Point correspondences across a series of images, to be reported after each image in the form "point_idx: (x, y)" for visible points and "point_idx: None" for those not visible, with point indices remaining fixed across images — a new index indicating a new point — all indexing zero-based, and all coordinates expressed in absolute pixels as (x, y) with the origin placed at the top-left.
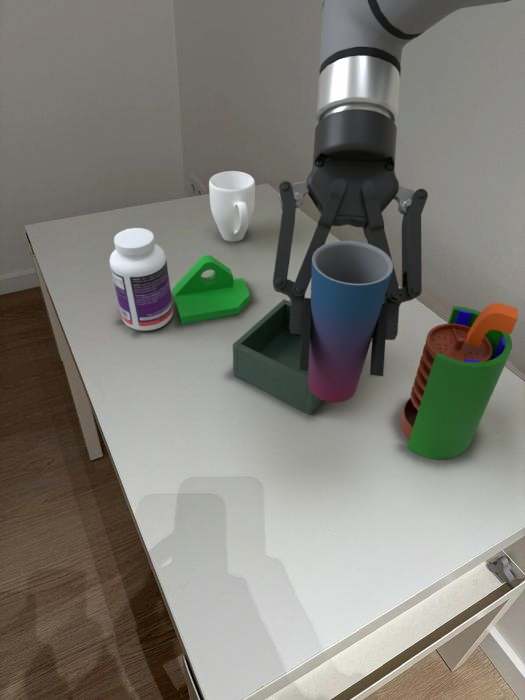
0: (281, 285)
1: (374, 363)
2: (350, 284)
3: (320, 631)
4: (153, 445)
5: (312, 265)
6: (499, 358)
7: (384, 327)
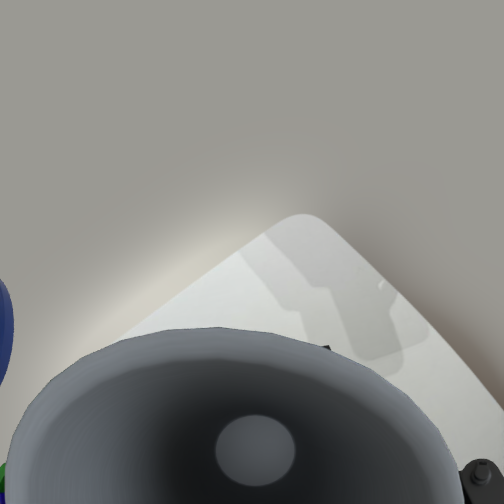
0: (470, 470)
1: None
2: (206, 330)
3: (240, 260)
4: (444, 393)
5: (451, 477)
6: (4, 470)
7: None
